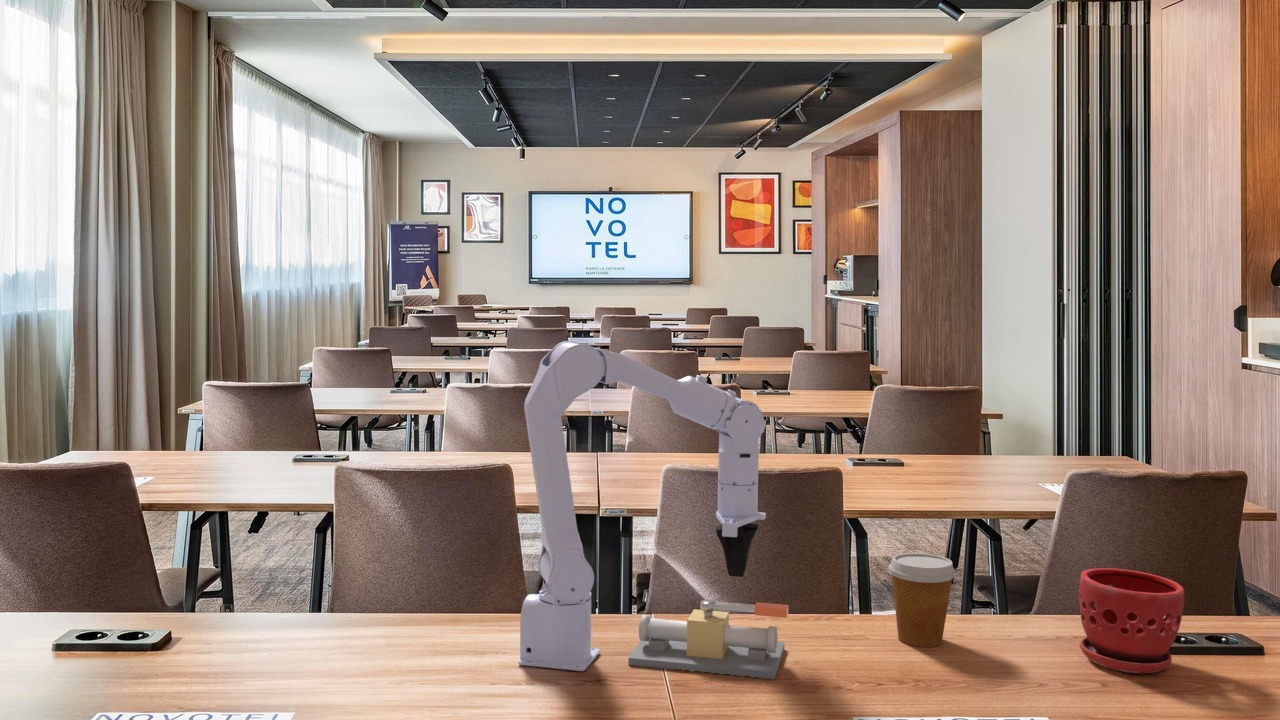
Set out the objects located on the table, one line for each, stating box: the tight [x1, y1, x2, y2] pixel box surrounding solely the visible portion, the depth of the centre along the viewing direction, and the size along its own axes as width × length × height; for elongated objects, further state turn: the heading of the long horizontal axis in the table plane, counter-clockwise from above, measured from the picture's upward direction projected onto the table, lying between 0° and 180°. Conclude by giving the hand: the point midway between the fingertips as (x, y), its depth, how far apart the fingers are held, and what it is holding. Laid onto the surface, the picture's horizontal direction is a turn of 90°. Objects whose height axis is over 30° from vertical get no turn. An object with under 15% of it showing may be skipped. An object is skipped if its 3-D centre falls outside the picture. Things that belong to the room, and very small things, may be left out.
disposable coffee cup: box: [888, 552, 956, 648], centre depth 152 cm, size 10×10×12 cm
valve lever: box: [699, 599, 789, 619], centre depth 142 cm, size 12×2×1 cm, turn 76°
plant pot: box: [1078, 567, 1185, 674], centre depth 143 cm, size 13×13×12 cm
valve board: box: [628, 609, 785, 681], centre depth 144 cm, size 20×12×7 cm, turn 76°
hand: (736, 575), depth 148 cm, fingers closed
